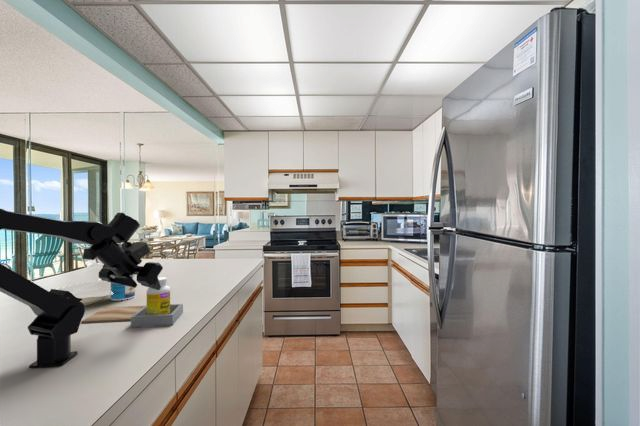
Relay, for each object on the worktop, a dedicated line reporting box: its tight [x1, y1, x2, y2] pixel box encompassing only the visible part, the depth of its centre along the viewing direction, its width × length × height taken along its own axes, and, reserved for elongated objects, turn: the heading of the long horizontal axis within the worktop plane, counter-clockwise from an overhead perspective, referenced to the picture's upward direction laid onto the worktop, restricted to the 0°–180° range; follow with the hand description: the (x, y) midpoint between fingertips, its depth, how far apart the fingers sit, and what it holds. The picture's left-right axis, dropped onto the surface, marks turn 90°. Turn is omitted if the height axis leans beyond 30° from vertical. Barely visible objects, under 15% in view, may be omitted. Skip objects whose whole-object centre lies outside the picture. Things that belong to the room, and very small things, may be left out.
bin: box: [130, 303, 184, 328], centre depth 101 cm, size 12×12×3 cm
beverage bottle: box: [109, 245, 136, 302], centre depth 126 cm, size 8×8×20 cm
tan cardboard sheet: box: [80, 305, 145, 324], centre depth 106 cm, size 14×14×1 cm
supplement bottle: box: [146, 276, 171, 315], centre depth 101 cm, size 7×7×13 cm
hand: (147, 287), depth 98 cm, fingers open, 9 cm apart
